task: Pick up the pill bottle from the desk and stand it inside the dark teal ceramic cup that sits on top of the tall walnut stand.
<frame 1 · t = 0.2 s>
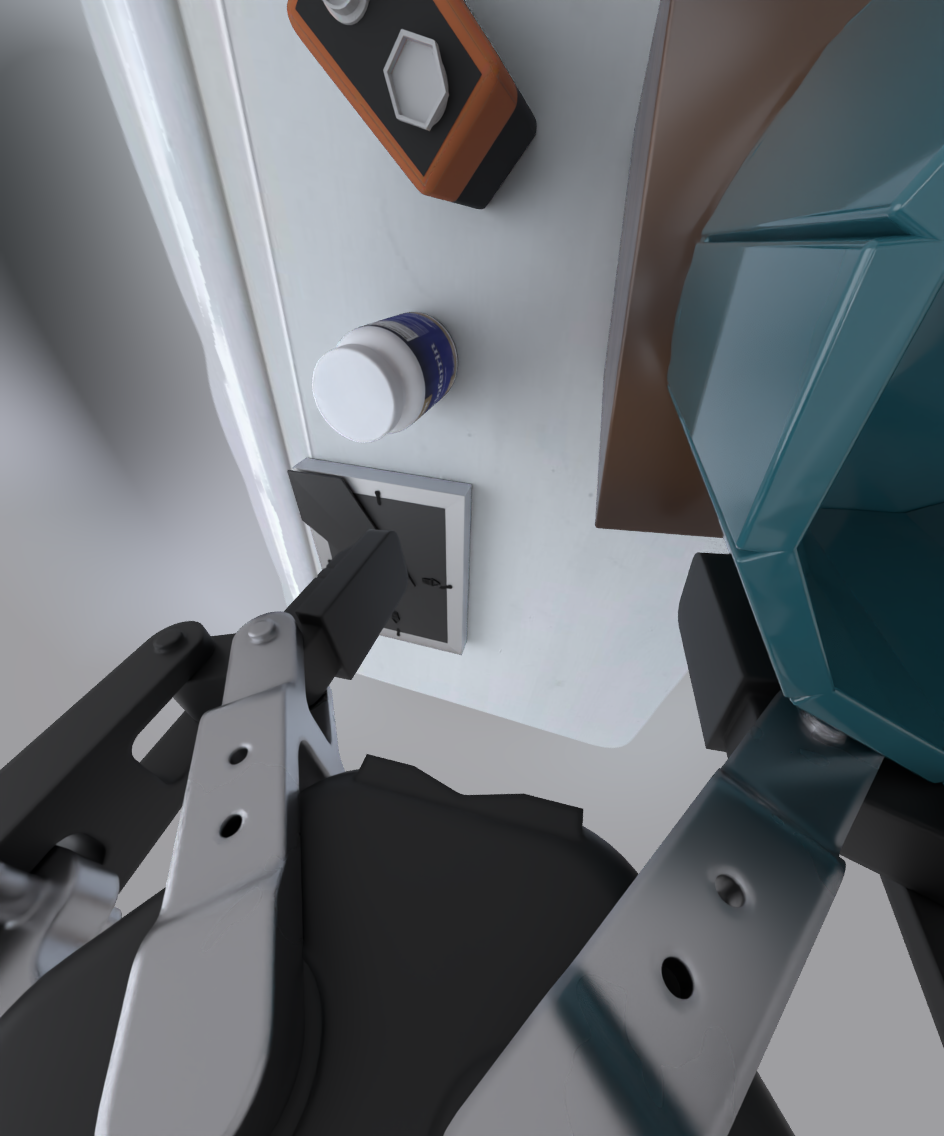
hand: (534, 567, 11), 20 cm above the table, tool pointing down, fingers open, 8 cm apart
pill bottle: (422, 357, 28), on the table
battery: (466, 111, 20), on the table
stand: (727, 263, 20), on the table
picture frame: (397, 560, 41), on the table
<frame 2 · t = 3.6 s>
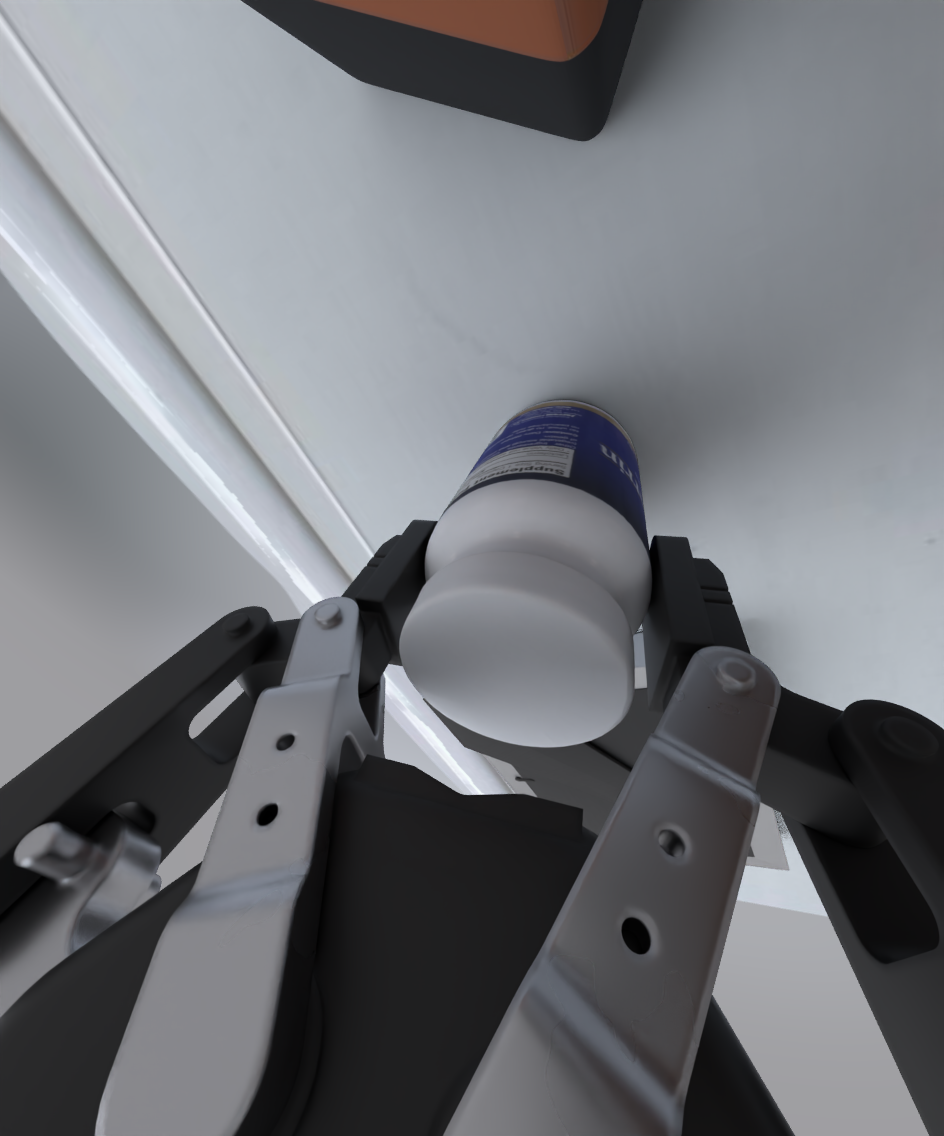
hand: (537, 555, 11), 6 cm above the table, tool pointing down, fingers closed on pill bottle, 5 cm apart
pill bottle: (559, 470, 15), on the table, touching gripper
picture frame: (613, 747, 26), on the table
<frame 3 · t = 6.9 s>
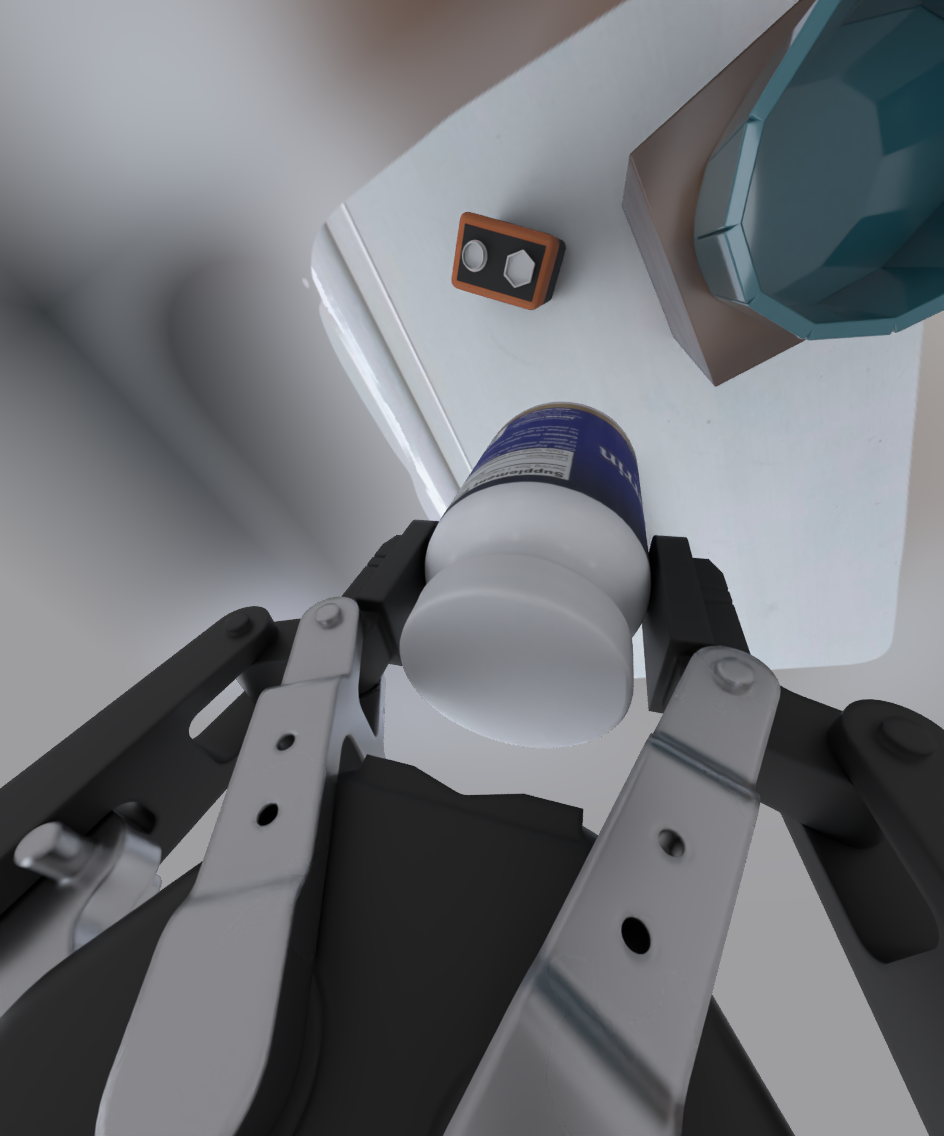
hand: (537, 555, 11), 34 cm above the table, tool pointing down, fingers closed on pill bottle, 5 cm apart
pill bottle: (558, 471, 15), point 28 cm above the table, touching gripper
battery: (522, 263, 34), on the table
cup: (820, 185, 16), resting on stand
stand: (724, 222, 29), on the table
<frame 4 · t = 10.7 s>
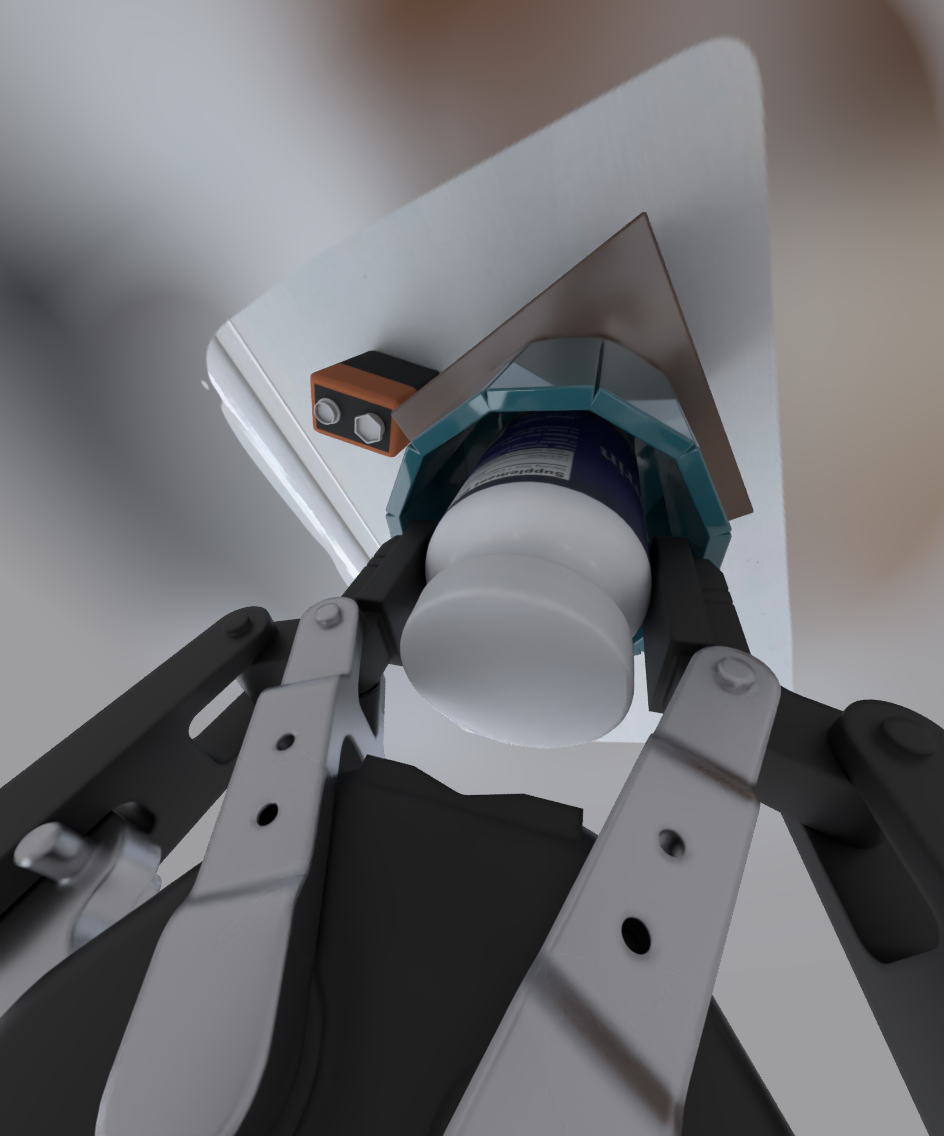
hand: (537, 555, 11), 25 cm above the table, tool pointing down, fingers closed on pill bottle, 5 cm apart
pill bottle: (559, 471, 15), point 19 cm above the table, touching gripper
battery: (405, 385, 34), on the table
cup: (562, 460, 16), resting on stand
stand: (585, 367, 30), on the table
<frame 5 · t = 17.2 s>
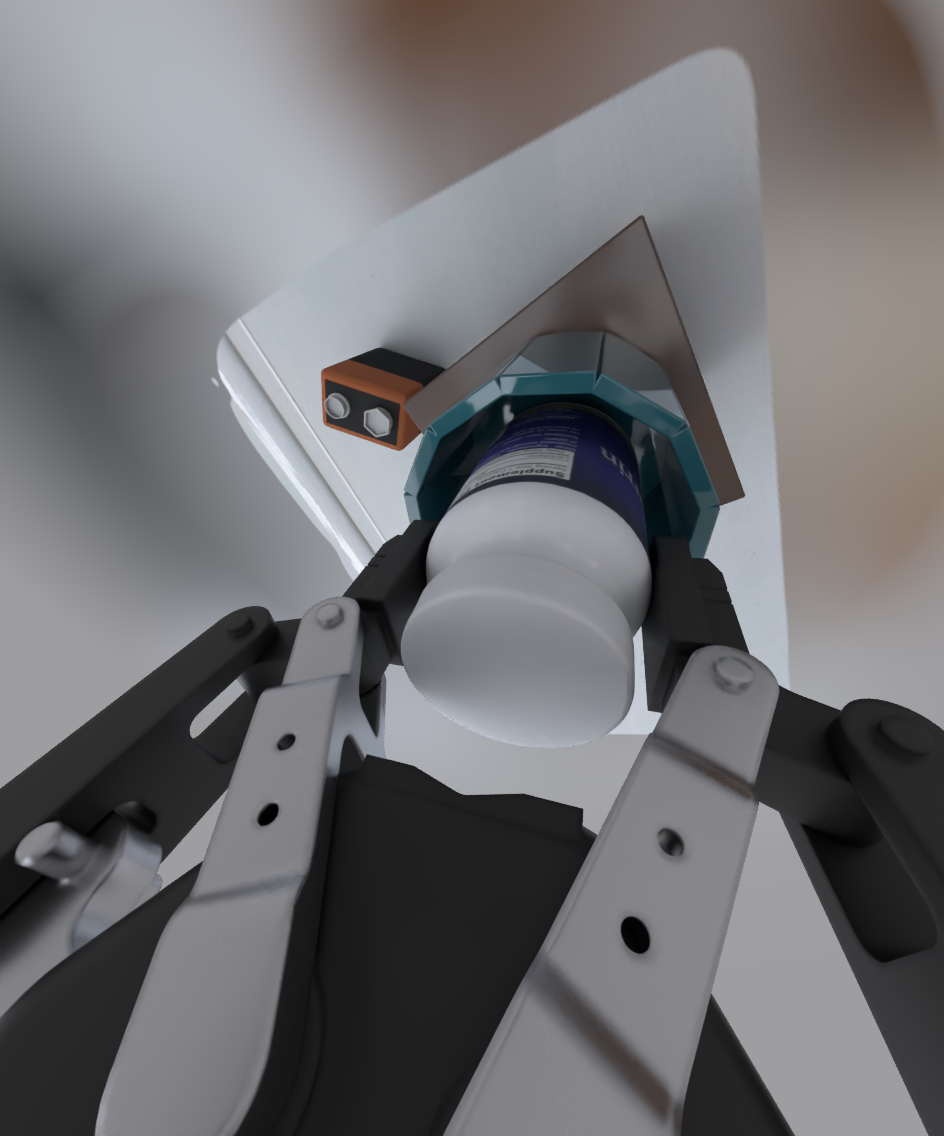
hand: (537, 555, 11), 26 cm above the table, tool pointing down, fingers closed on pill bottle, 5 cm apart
pill bottle: (559, 471, 15), point 20 cm above the table, touching gripper
battery: (411, 381, 35), on the table
cup: (565, 449, 17), resting on stand
stand: (586, 364, 31), on the table
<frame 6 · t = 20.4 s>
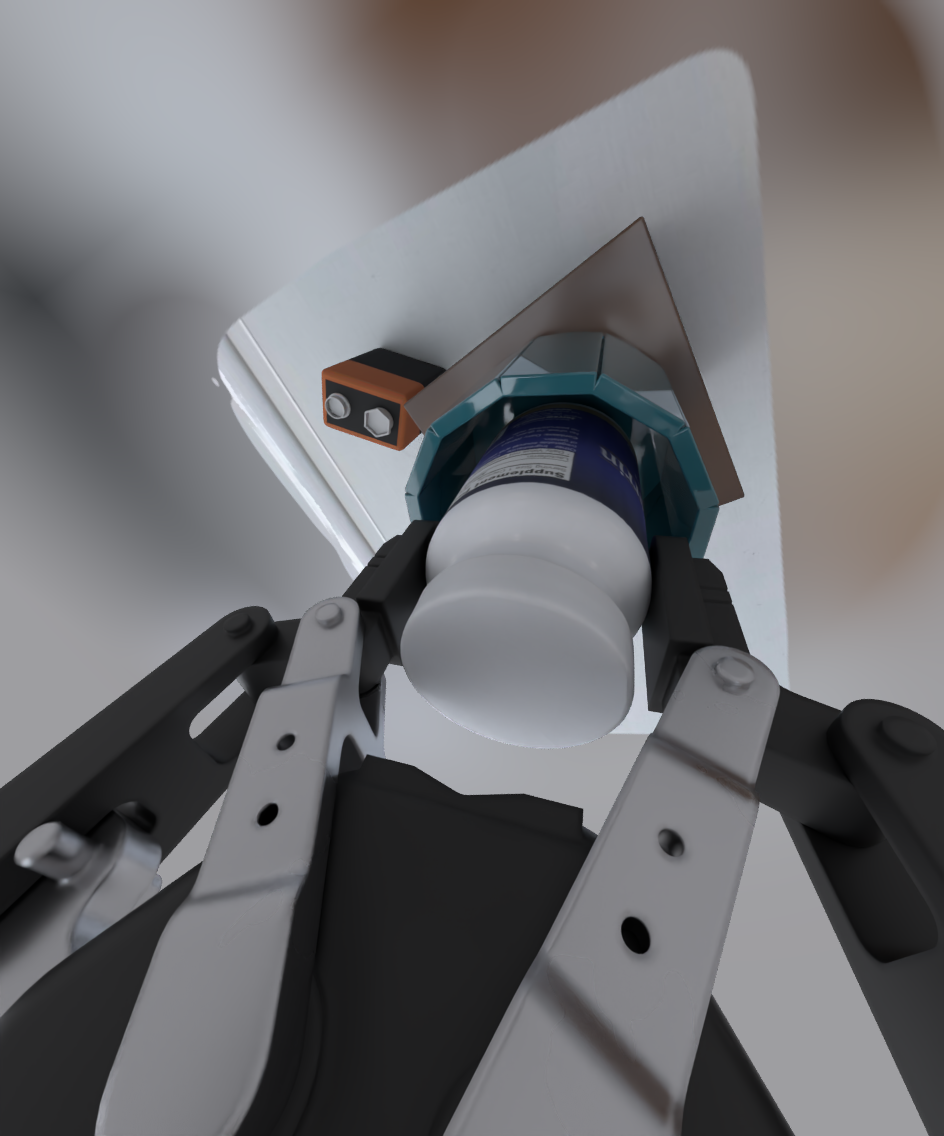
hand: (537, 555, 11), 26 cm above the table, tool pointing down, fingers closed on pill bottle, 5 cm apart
pill bottle: (559, 471, 15), point 21 cm above the table, touching gripper
battery: (411, 382, 36), on the table
cup: (565, 449, 17), resting on stand
stand: (586, 364, 31), on the table
when the fingers open (26 cm above the table, at t = 23.2 s): pill bottle drops 2 cm, resting on cup.
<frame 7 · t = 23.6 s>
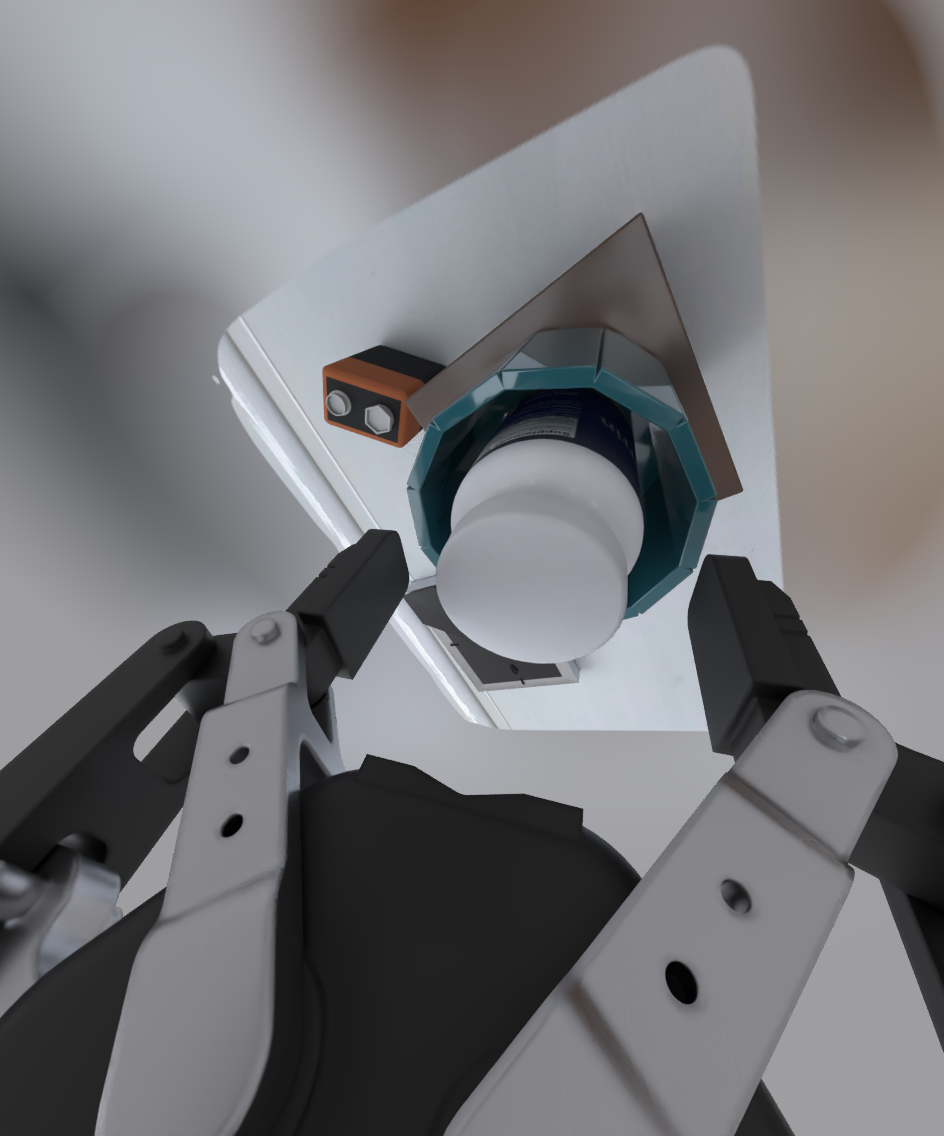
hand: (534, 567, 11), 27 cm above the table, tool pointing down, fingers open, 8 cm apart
pill bottle: (563, 447, 17), point 18 cm above the table, touching cup
battery: (411, 379, 36), on the table
cup: (565, 444, 17), resting on stand
stand: (586, 361, 31), on the table
picture frame: (496, 625, 53), on the table
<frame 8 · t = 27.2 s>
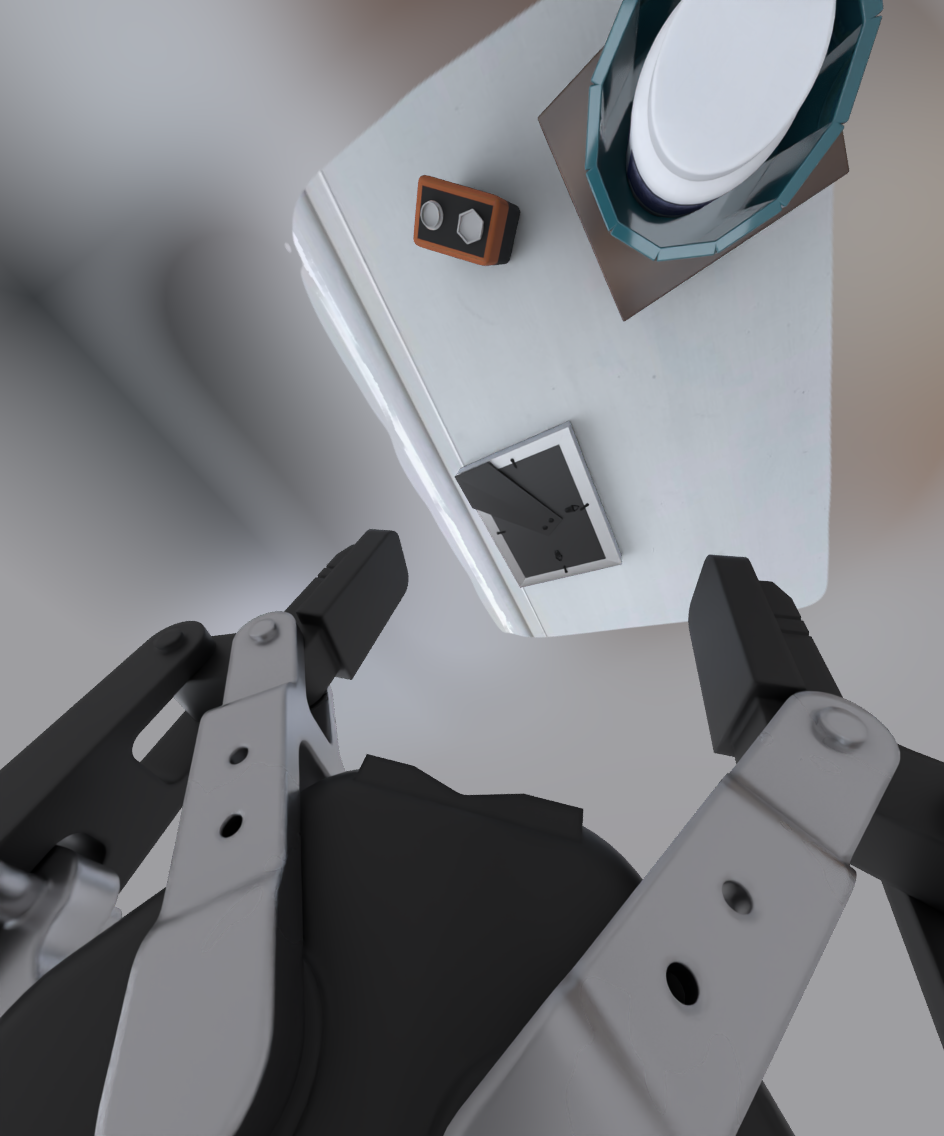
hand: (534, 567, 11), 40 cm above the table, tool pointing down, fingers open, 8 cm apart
pill bottle: (687, 141, 19), point 18 cm above the table, touching cup
battery: (483, 227, 38), on the table
cup: (686, 143, 19), resting on stand
stand: (656, 188, 33), on the table
picture frame: (542, 511, 55), on the table
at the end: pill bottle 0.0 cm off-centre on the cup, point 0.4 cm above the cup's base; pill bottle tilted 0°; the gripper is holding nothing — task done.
